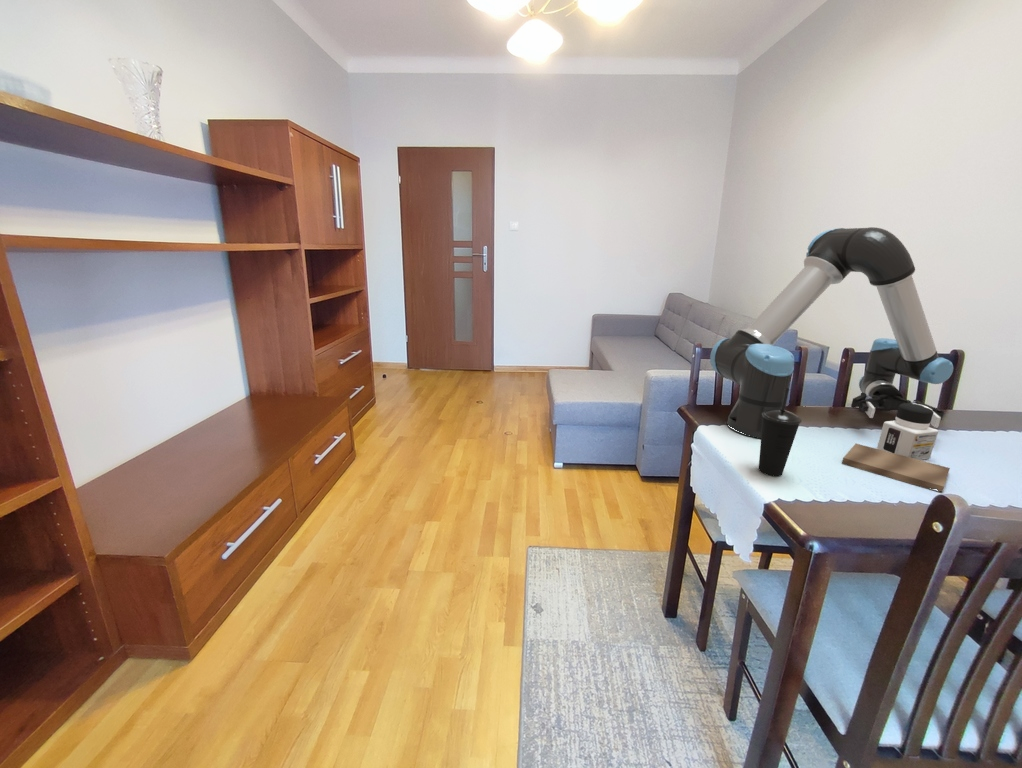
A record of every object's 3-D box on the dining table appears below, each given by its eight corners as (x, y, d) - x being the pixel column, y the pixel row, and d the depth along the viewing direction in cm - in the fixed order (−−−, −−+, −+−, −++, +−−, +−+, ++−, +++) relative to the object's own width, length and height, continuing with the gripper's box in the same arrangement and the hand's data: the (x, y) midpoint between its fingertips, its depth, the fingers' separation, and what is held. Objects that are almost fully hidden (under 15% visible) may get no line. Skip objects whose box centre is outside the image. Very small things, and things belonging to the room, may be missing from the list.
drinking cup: (779, 465, 108) (797, 384, 102) (795, 480, 101) (815, 394, 95) (746, 462, 109) (761, 382, 103) (759, 478, 102) (777, 392, 96)
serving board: (841, 463, 110) (843, 457, 109) (854, 448, 118) (855, 443, 118) (941, 492, 97) (943, 486, 97) (947, 473, 106) (949, 468, 105)
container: (907, 462, 111) (922, 412, 108) (875, 448, 119) (889, 401, 115) (930, 459, 113) (946, 409, 110) (897, 446, 121) (911, 399, 117)
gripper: (932, 414, 134) (962, 440, 116) (831, 400, 145) (843, 422, 126) (940, 390, 132) (971, 412, 114) (837, 378, 142) (850, 396, 124)
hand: (904, 417), depth 120 cm, fingers open, 13 cm apart
